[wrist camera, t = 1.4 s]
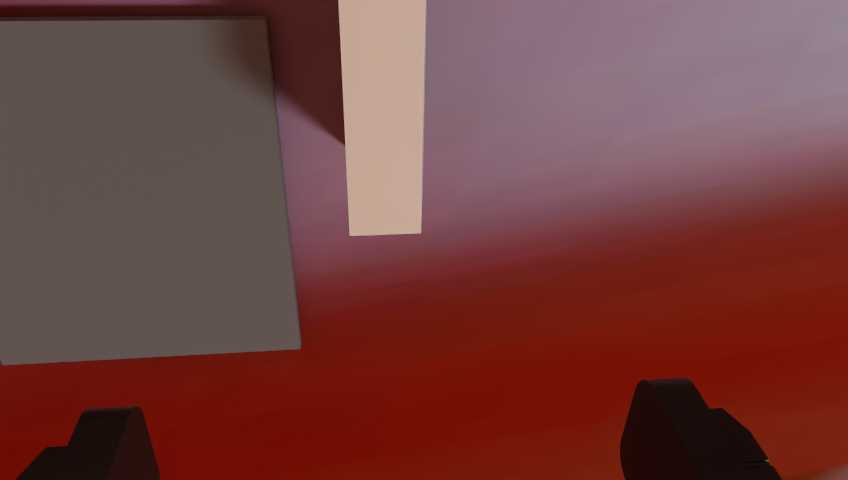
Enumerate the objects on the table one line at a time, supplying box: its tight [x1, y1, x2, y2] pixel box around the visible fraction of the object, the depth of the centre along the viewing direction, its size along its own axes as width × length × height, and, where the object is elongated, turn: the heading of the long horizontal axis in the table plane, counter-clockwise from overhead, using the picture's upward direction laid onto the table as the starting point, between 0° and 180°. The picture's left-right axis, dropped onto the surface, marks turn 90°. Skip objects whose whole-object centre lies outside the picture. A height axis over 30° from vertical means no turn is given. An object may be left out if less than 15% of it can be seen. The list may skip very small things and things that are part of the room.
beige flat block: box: [338, 0, 427, 236], centre depth 23 cm, size 9×2×7 cm, turn 179°
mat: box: [0, 15, 301, 365], centre depth 28 cm, size 16×14×1 cm
